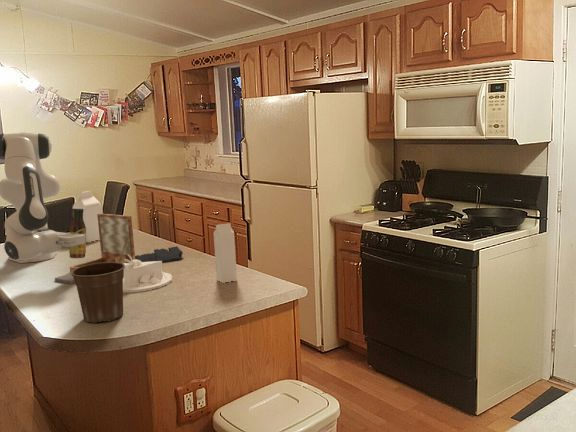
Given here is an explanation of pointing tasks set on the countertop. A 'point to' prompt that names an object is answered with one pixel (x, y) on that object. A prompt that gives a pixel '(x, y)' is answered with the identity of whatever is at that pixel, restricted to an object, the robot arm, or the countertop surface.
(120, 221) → the cedar box
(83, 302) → the plant pot
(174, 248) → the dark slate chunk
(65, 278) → the slate tile
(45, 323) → the countertop surface
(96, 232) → the milk
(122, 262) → the brown rounded block
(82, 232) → the sauce bottle
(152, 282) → the dish
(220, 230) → the milk
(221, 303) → the countertop surface
